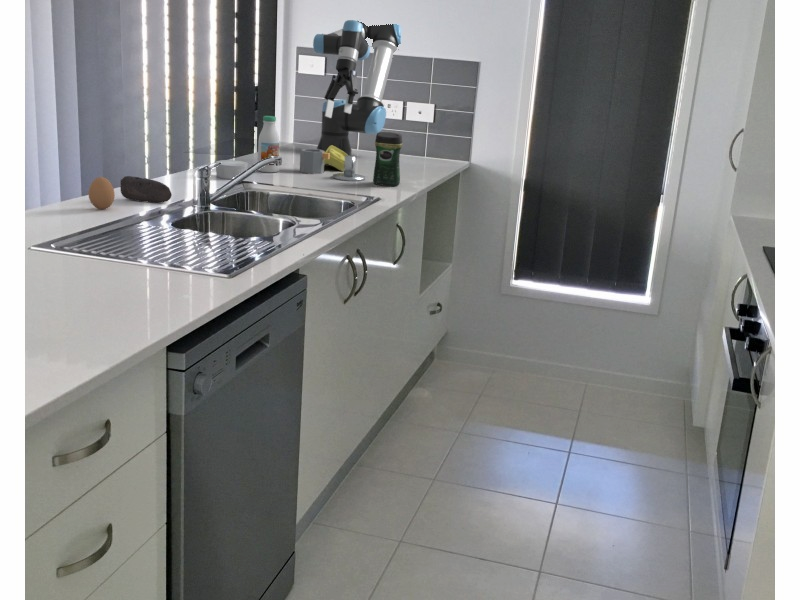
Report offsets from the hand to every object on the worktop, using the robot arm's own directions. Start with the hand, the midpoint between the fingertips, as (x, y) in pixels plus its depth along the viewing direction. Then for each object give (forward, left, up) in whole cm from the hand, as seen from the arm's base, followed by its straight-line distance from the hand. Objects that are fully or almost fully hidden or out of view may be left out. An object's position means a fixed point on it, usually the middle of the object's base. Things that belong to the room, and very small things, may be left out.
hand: (337, 115), depth 326 cm
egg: (+110, -34, -21) cm, 117 cm away
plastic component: (-3, -1, -21) cm, 21 cm away
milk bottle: (+22, -19, -21) cm, 36 cm away
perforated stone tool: (+94, -29, -21) cm, 101 cm away
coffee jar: (+22, +26, -21) cm, 40 cm away
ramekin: (+42, -25, -21) cm, 53 cm away
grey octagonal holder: (+13, -4, -21) cm, 25 cm away
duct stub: (+18, +11, -21) cm, 29 cm away
